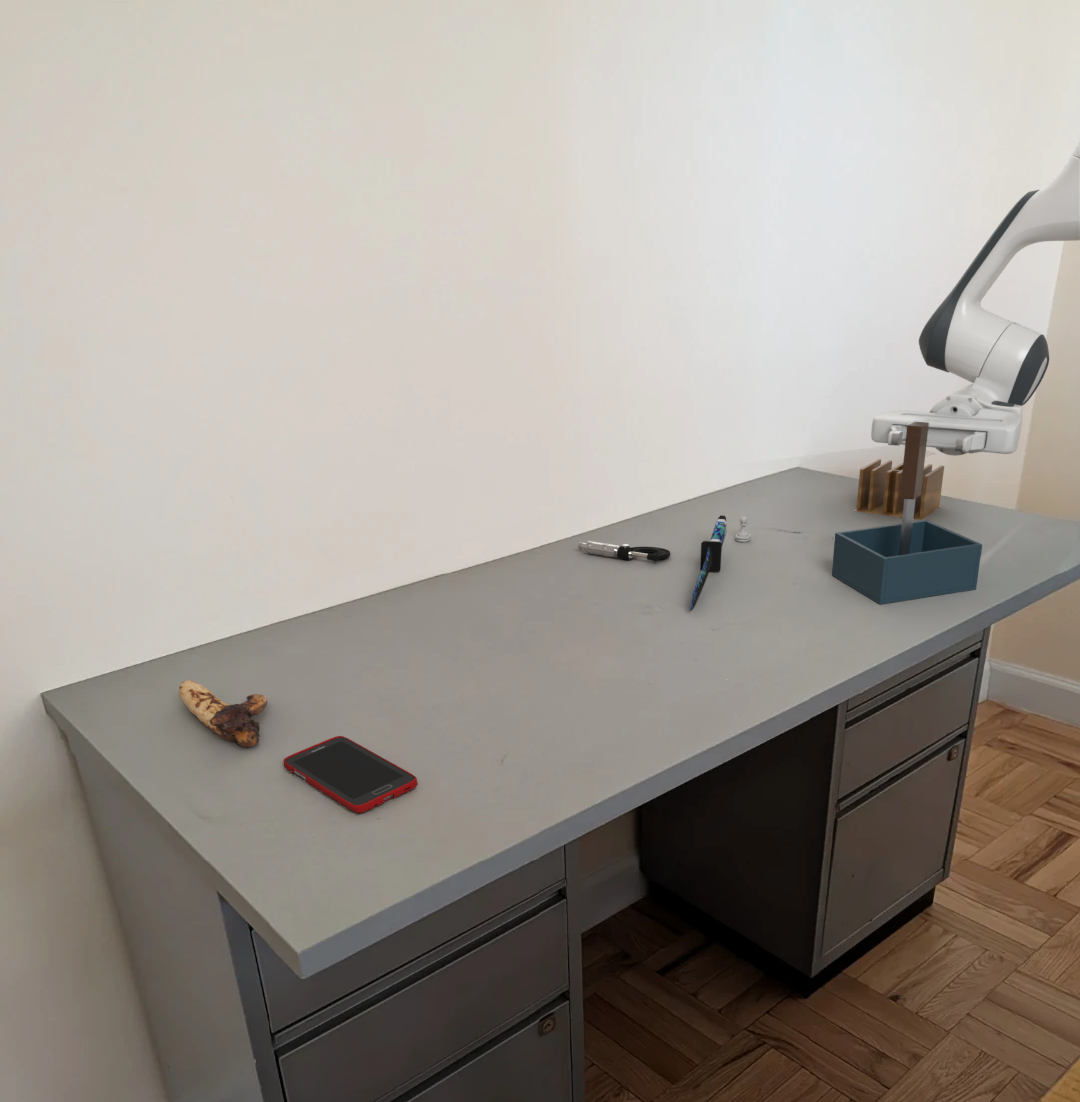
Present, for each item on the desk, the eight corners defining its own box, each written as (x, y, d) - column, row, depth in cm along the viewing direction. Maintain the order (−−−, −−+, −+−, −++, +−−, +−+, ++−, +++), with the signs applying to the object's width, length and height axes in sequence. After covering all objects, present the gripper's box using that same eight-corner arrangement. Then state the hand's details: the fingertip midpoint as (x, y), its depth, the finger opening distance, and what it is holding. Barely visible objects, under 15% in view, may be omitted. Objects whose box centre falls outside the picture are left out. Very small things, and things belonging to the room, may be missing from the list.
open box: (922, 562, 158) (926, 519, 155) (976, 589, 147) (982, 544, 144) (831, 575, 155) (834, 532, 152) (879, 604, 144) (884, 558, 141)
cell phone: (358, 817, 101) (357, 808, 101) (280, 767, 111) (279, 759, 110) (421, 786, 106) (420, 778, 105) (341, 741, 115) (340, 733, 115)
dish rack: (852, 517, 181) (856, 470, 177) (874, 503, 187) (879, 457, 184) (921, 526, 174) (926, 477, 170) (941, 511, 181) (947, 464, 177)
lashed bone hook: (304, 737, 118) (237, 686, 131) (300, 699, 116) (231, 651, 129) (227, 762, 113) (164, 707, 126) (221, 724, 111) (158, 671, 123)
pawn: (733, 541, 172) (734, 518, 170) (736, 537, 174) (736, 513, 172) (749, 542, 171) (750, 518, 169) (751, 537, 173) (752, 514, 172)
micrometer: (678, 553, 168) (678, 538, 167) (656, 566, 163) (656, 551, 162) (599, 541, 176) (599, 527, 175) (576, 553, 171) (576, 538, 170)
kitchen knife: (890, 580, 150) (906, 425, 140) (898, 573, 152) (915, 421, 142) (904, 582, 149) (921, 426, 139) (912, 576, 151) (929, 422, 141)
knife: (717, 538, 170) (717, 512, 167) (736, 539, 169) (736, 513, 166) (672, 625, 146) (670, 597, 144) (693, 627, 145) (692, 598, 143)
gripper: (892, 397, 158) (856, 413, 149) (1034, 406, 147) (1005, 425, 137) (888, 438, 161) (852, 458, 152) (1027, 451, 150) (998, 472, 140)
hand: (926, 442), depth 144 cm, fingers open, 8 cm apart
